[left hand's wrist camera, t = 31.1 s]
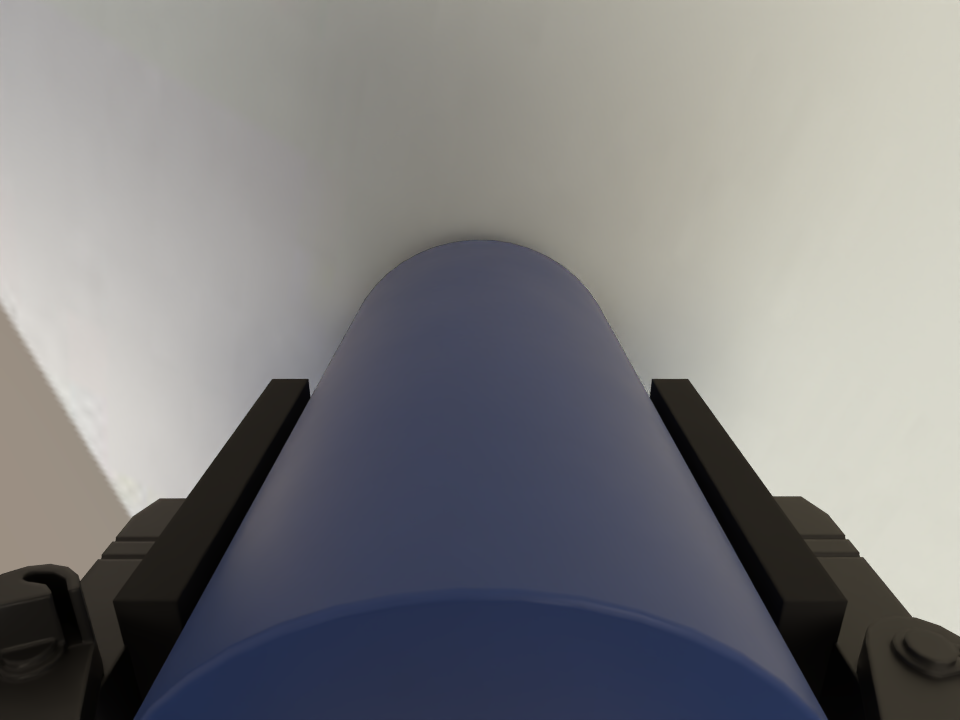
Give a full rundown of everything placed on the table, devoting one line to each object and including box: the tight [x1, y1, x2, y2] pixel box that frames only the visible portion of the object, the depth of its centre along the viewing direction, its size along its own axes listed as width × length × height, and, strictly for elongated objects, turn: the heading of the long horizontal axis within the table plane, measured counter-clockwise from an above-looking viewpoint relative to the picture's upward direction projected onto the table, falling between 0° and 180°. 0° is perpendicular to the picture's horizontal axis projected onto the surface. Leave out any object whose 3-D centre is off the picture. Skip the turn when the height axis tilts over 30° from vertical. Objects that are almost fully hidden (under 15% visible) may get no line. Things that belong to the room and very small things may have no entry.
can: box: [133, 240, 828, 720], centre depth 12 cm, size 7×7×13 cm
